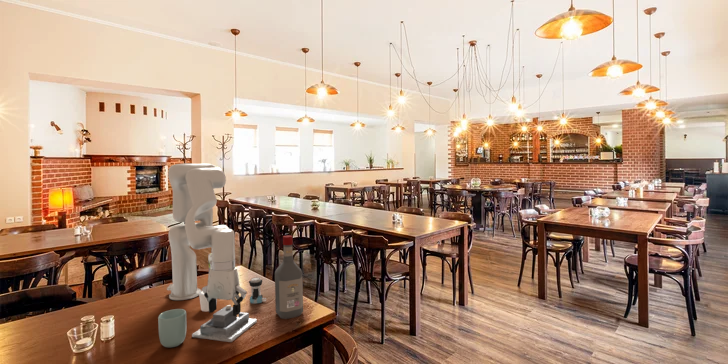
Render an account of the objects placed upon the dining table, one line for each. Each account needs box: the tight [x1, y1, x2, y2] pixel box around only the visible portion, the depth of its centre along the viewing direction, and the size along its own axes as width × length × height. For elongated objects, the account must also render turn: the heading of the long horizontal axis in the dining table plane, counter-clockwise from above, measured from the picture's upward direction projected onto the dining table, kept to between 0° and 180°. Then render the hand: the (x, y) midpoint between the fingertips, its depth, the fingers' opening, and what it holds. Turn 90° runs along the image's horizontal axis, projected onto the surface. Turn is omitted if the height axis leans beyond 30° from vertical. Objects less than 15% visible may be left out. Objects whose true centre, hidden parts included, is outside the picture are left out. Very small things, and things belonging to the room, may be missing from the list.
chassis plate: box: [191, 311, 258, 343], centre depth 122 cm, size 15×15×4 cm
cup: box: [157, 308, 188, 348], centre depth 111 cm, size 8×8×10 cm
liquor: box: [274, 234, 304, 320], centre depth 133 cm, size 9×9×30 cm
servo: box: [210, 304, 238, 328], centre depth 121 cm, size 4×9×6 cm, turn 166°
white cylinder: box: [198, 290, 218, 312], centre depth 139 cm, size 7×7×7 cm
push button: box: [248, 277, 267, 304], centre depth 145 cm, size 7×5×10 cm
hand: (224, 312), depth 122 cm, fingers open, 9 cm apart
